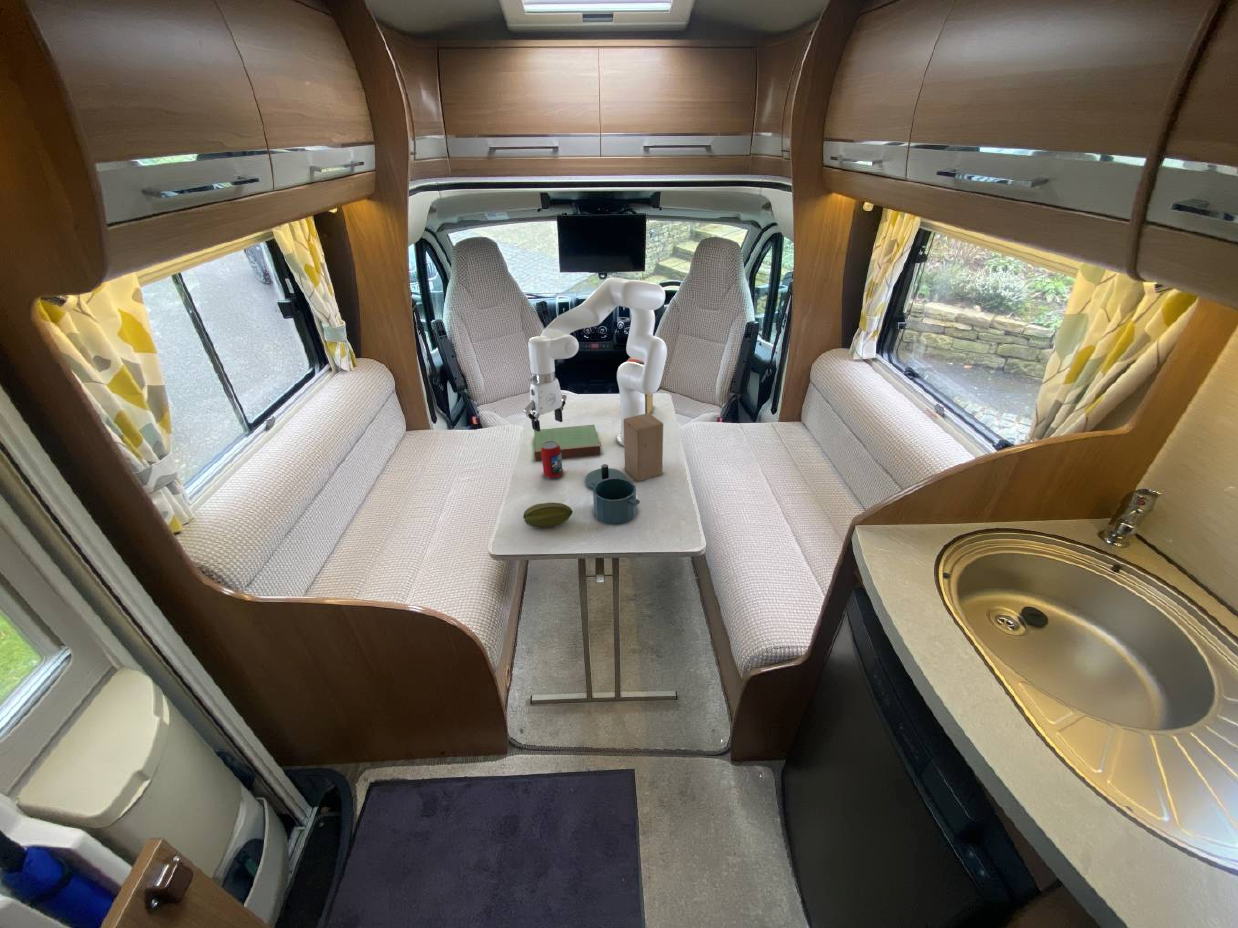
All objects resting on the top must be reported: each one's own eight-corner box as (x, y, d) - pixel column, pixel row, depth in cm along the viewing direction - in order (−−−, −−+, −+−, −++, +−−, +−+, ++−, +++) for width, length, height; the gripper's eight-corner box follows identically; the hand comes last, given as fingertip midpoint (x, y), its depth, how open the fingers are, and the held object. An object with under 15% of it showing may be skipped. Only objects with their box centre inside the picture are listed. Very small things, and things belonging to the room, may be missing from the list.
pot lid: (605, 466, 180) (604, 452, 177) (633, 480, 172) (633, 464, 169) (577, 482, 171) (575, 467, 168) (605, 496, 163) (605, 481, 160)
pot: (608, 492, 165) (607, 470, 161) (651, 513, 154) (651, 490, 150) (580, 509, 157) (578, 486, 153) (622, 533, 146) (622, 509, 142)
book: (535, 460, 185) (534, 452, 183) (535, 438, 201) (534, 430, 199) (602, 454, 188) (602, 445, 186) (596, 432, 204) (596, 424, 202)
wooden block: (637, 482, 170) (637, 429, 160) (624, 469, 178) (623, 418, 168) (662, 474, 174) (663, 423, 164) (648, 462, 182) (648, 412, 172)
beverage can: (559, 480, 173) (556, 449, 167) (541, 478, 174) (537, 448, 168) (565, 470, 178) (562, 440, 172) (547, 468, 180) (544, 439, 174)
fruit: (548, 508, 158) (546, 490, 155) (575, 522, 151) (574, 504, 148) (520, 525, 151) (518, 507, 147) (548, 541, 144) (546, 522, 141)
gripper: (529, 386, 150) (534, 437, 158) (571, 372, 161) (574, 420, 169) (514, 381, 154) (520, 430, 163) (556, 367, 165) (560, 414, 174)
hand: (547, 425), depth 166 cm, fingers open, 9 cm apart
